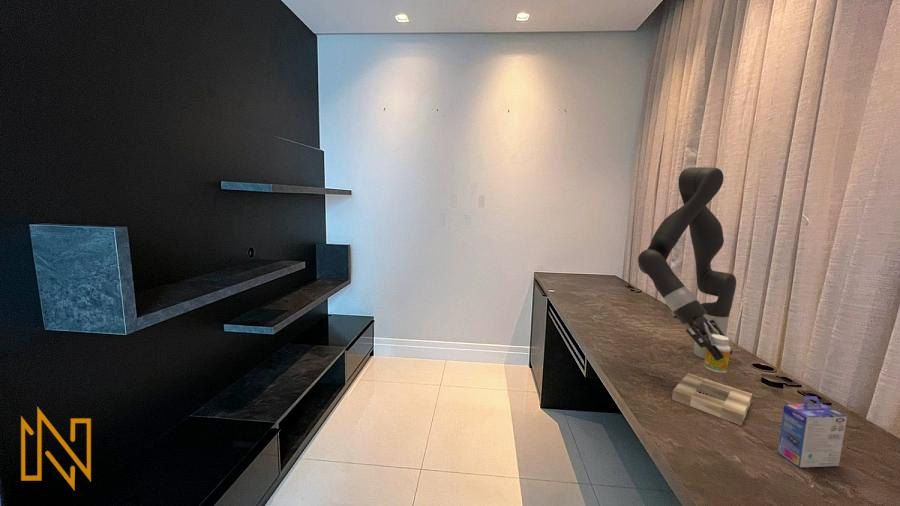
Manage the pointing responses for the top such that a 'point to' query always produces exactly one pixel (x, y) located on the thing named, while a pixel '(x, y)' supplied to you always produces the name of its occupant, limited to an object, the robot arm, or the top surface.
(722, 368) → the supplement bottle
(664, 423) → the top surface
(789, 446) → the ink cartridge box
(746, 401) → the light wooden square frame
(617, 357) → the top surface
